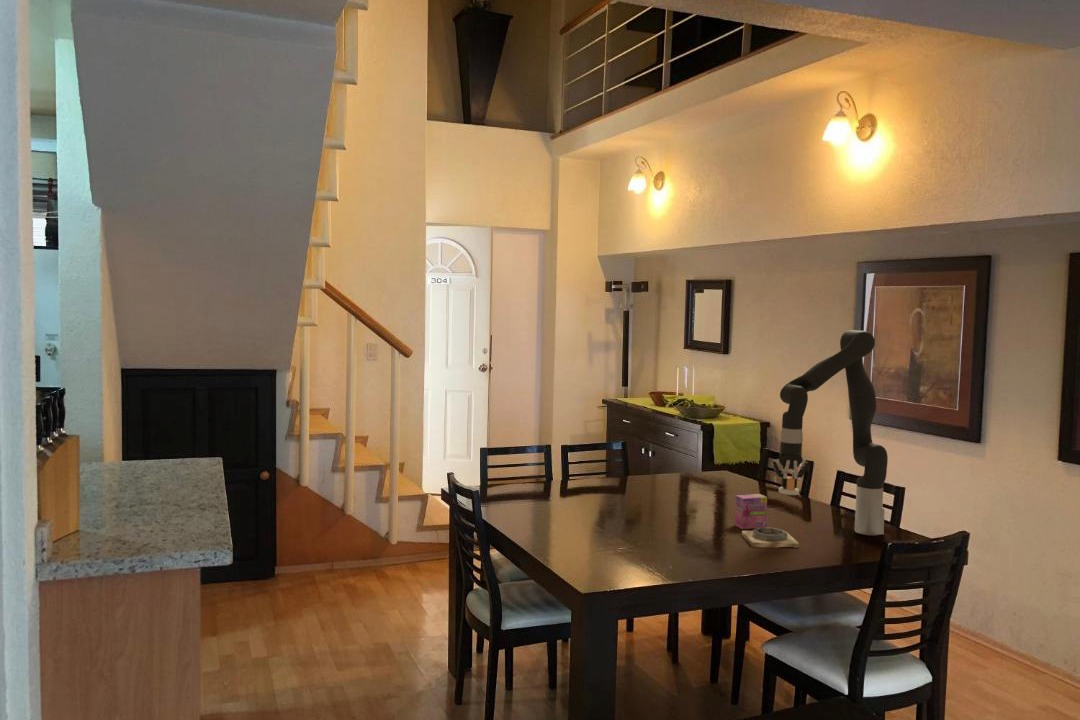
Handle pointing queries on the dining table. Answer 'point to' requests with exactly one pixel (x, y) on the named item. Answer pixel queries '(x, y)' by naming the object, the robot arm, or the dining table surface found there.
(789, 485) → the white disc orange handle
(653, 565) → the dining table surface
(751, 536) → the board
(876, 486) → the robot arm
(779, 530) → the grey octagonal ring
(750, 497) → the box
